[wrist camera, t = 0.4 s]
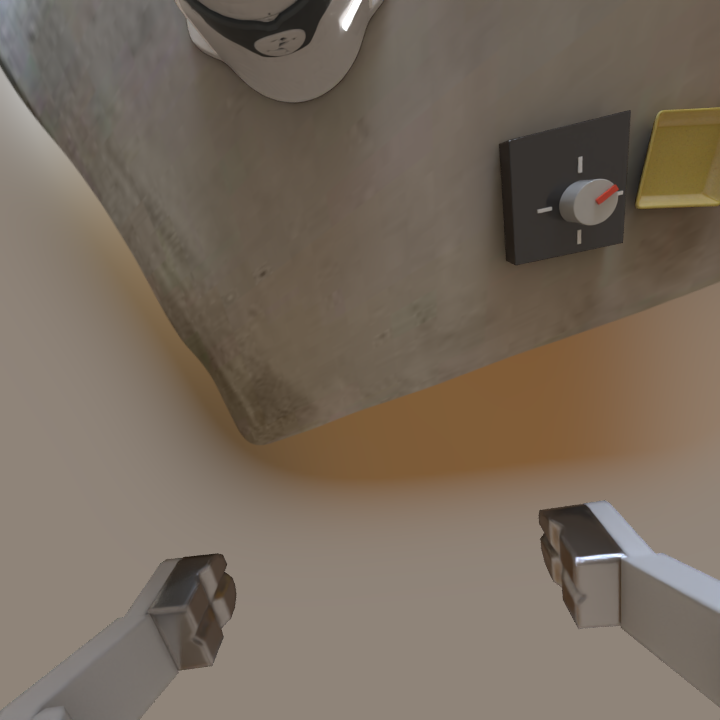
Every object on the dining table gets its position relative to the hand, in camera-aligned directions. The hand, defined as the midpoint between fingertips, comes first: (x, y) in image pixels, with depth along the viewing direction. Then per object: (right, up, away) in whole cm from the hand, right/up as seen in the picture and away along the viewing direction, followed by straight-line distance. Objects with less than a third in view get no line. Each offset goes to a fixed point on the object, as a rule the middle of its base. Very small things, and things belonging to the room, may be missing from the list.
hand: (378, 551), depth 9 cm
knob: (+22, +21, +28) cm, 41 cm away
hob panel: (+20, +23, +30) cm, 43 cm away
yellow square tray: (+32, +25, +29) cm, 50 cm away
